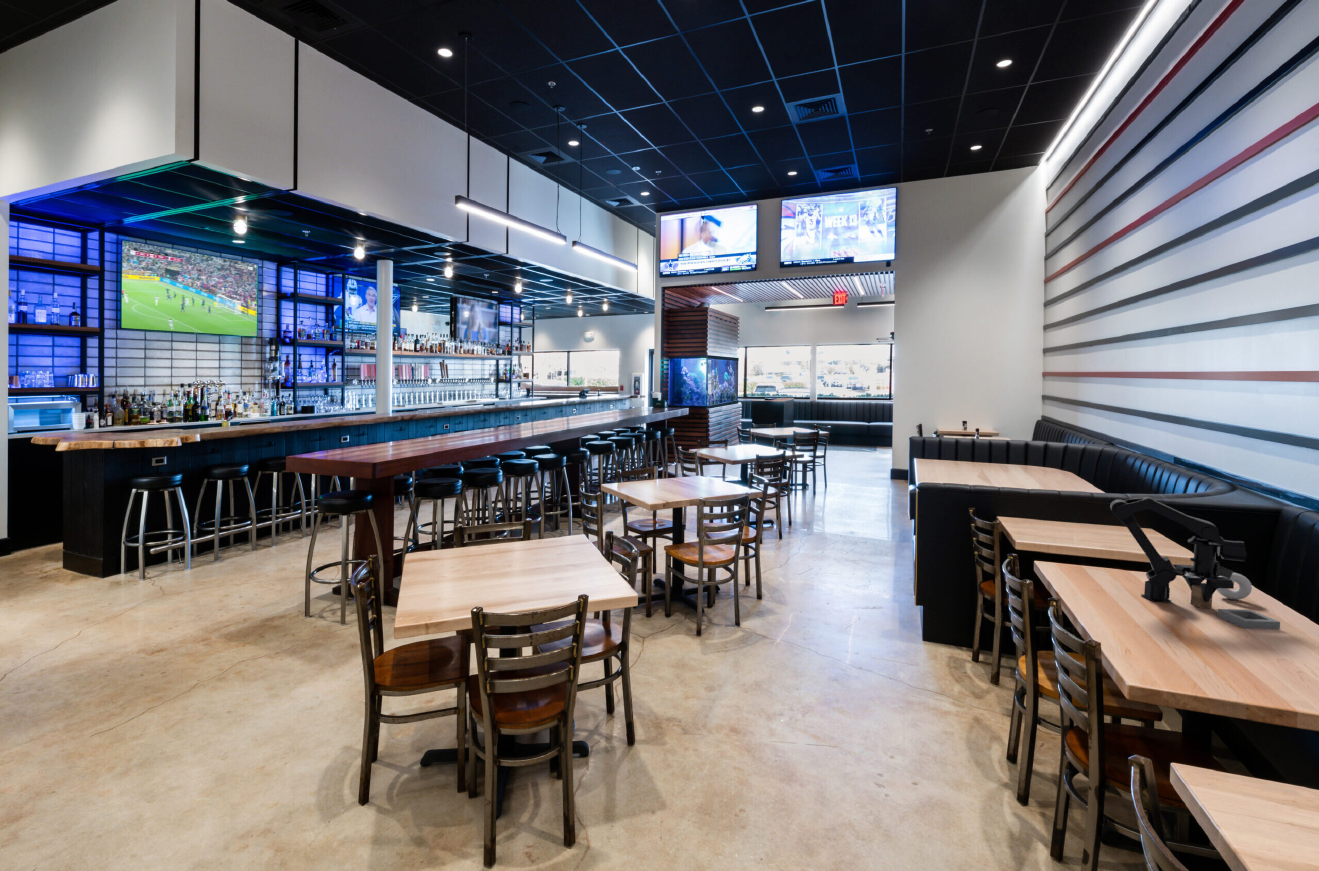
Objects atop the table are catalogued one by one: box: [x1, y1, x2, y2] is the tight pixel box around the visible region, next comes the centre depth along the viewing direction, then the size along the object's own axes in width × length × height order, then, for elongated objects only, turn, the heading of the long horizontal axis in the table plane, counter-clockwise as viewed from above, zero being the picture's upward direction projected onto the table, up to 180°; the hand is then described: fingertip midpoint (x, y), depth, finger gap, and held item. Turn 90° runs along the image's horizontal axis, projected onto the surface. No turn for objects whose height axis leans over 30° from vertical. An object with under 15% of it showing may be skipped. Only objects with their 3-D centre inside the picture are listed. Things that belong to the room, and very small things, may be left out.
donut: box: [1216, 572, 1253, 600], centre depth 221 cm, size 10×4×10 cm, turn 56°
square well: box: [1216, 608, 1281, 630], centre depth 200 cm, size 11×11×2 cm
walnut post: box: [1190, 585, 1214, 609], centre depth 215 cm, size 4×4×7 cm
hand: (1201, 599), depth 215 cm, fingers closed on walnut post, 4 cm apart
